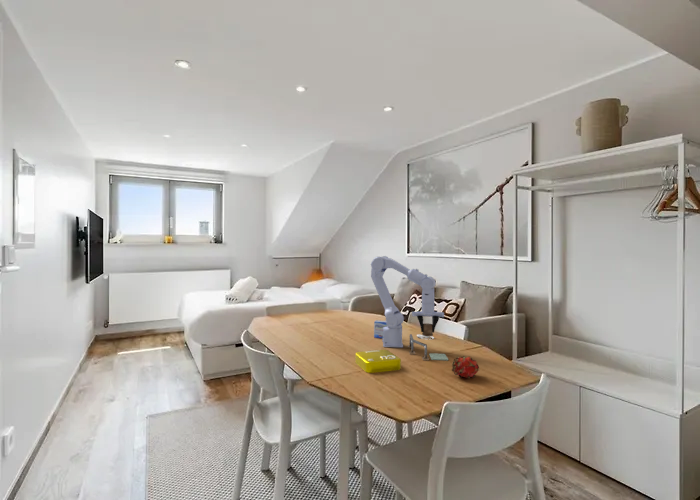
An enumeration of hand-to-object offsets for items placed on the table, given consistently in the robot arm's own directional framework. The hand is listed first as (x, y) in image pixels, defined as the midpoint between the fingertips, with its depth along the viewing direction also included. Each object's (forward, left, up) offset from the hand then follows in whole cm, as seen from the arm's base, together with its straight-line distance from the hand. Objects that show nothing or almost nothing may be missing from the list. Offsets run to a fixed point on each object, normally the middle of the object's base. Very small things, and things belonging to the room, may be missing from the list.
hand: (427, 331), depth 174 cm
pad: (+3, -11, -8) cm, 14 cm away
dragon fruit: (+10, -34, -9) cm, 37 cm away
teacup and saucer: (+1, +26, -9) cm, 28 cm away
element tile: (-23, -25, -9) cm, 35 cm away
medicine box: (-21, +21, -9) cm, 31 cm away
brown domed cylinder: (0, 0, -1) cm, 1 cm away
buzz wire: (-5, -6, -8) cm, 12 cm away
